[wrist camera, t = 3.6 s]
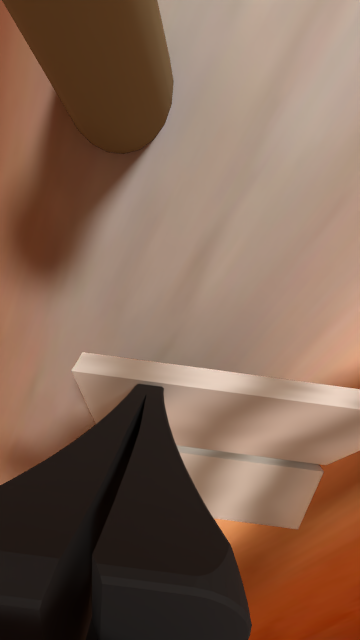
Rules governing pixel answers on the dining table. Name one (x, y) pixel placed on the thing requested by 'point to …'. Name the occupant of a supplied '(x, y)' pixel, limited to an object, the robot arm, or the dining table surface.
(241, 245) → the dining table surface
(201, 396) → the board
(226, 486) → the laid board
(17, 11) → the cork
